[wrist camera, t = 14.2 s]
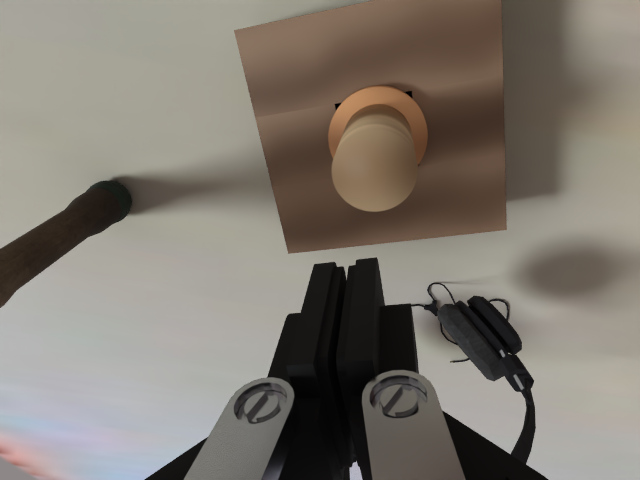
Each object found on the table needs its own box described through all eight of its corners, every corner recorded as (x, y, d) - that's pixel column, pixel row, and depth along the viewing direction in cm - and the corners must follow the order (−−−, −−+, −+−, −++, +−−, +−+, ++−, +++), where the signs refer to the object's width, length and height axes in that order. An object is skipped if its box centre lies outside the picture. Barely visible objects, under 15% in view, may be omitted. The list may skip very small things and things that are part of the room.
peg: (330, 84, 34) (301, 119, 23) (417, 68, 33) (432, 97, 22) (344, 167, 37) (324, 234, 26) (425, 155, 36) (442, 221, 24)
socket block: (254, 28, 34) (234, 30, 29) (484, -22, 30) (500, -28, 26) (299, 226, 40) (288, 253, 36) (492, 203, 37) (506, 229, 33)
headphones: (394, 393, 47) (398, 624, 29) (327, 316, 44) (285, 522, 26) (535, 327, 41) (645, 564, 24) (469, 234, 38) (537, 426, 21)
